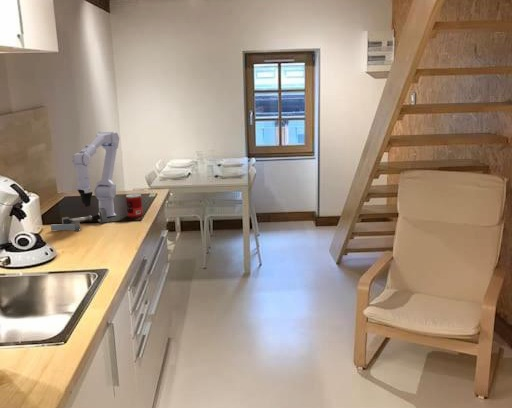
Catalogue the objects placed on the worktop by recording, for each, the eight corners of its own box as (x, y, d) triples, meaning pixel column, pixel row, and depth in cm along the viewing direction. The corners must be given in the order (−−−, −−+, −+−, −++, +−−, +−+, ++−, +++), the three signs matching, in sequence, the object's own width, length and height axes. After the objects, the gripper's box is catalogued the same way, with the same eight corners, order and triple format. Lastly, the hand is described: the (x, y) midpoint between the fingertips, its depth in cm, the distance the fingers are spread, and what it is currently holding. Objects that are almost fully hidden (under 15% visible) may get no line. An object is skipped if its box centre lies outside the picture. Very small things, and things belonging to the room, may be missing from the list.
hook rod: (62, 225, 256) (61, 217, 256) (92, 221, 263) (91, 213, 262) (63, 227, 253) (62, 219, 252) (93, 223, 259) (92, 215, 258)
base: (73, 229, 249) (73, 229, 249) (81, 228, 251) (81, 228, 251) (74, 231, 246) (74, 231, 246) (82, 230, 248) (82, 230, 248)
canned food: (144, 213, 275) (143, 193, 273) (140, 217, 268) (138, 196, 265) (130, 213, 276) (128, 193, 274) (125, 217, 269) (123, 196, 266)
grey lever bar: (50, 230, 247) (50, 224, 247) (52, 229, 250) (51, 222, 249) (79, 230, 247) (78, 223, 246) (81, 228, 249) (80, 222, 249)
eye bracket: (97, 220, 265) (96, 208, 263) (107, 219, 267) (106, 207, 265) (99, 223, 259) (98, 211, 258) (110, 221, 262) (108, 209, 260)
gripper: (72, 176, 258) (75, 202, 262) (76, 181, 246) (80, 208, 249) (87, 174, 261) (90, 201, 265) (92, 179, 249) (95, 206, 252)
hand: (86, 204), depth 257 cm, fingers open, 7 cm apart
